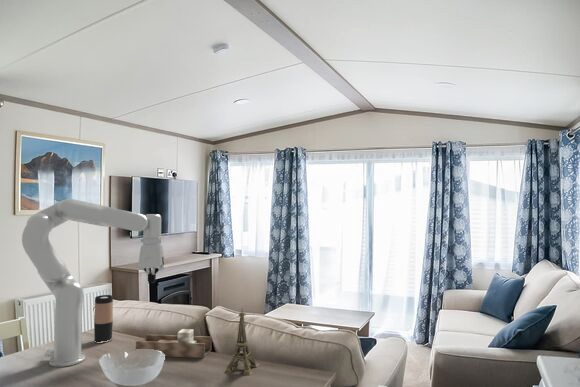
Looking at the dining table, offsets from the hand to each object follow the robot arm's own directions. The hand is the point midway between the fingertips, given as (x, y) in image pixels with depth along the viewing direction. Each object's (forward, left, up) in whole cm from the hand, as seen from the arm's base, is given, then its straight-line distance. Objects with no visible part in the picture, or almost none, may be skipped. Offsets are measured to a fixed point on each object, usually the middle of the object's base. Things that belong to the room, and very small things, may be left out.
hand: (151, 283), depth 180 cm
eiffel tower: (+46, -22, -27) cm, 58 cm away
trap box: (+14, -8, -27) cm, 32 cm away
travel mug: (-24, +3, -27) cm, 36 cm away
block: (+19, -8, -23) cm, 31 cm away
